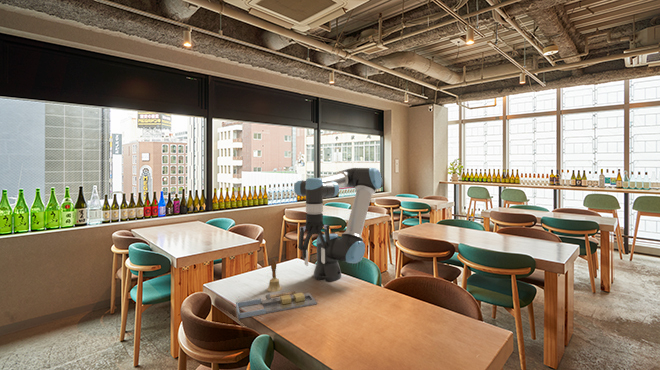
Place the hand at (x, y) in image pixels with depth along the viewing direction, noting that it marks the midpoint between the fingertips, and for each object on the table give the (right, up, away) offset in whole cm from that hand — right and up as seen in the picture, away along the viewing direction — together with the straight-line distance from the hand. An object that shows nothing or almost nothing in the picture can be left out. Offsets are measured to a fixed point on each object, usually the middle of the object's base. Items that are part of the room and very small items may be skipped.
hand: (314, 263), depth 139 cm
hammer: (-15, -17, +5) cm, 23 cm away
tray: (-26, -18, -10) cm, 33 cm away
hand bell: (-20, -17, +13) cm, 29 cm away
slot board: (-11, -17, -3) cm, 21 cm away
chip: (-12, -16, -4) cm, 21 cm away
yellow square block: (-7, -16, -2) cm, 18 cm away
